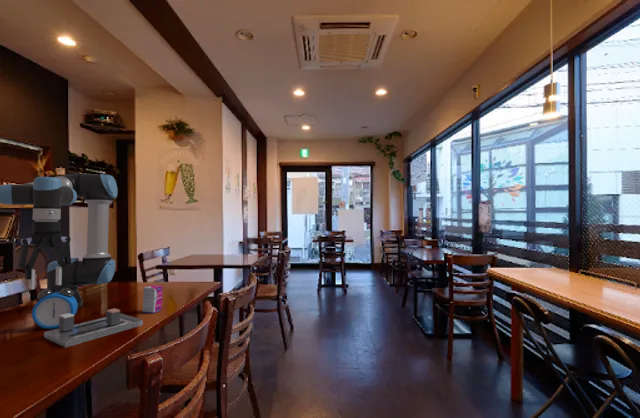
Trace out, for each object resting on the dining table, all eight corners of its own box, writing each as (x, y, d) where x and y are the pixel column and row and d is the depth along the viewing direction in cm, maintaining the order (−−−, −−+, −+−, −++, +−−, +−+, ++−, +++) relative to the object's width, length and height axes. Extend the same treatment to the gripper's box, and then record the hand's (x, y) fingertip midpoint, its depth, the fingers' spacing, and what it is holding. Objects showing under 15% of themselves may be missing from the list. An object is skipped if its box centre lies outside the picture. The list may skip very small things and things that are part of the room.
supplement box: (153, 313, 144) (154, 288, 144) (142, 313, 145) (142, 287, 145) (162, 310, 150) (162, 285, 150) (151, 309, 151) (151, 284, 151)
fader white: (59, 329, 117) (59, 315, 117) (68, 326, 120) (69, 313, 120) (64, 331, 115) (64, 316, 115) (73, 328, 118) (74, 314, 118)
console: (44, 337, 115) (44, 331, 115) (120, 318, 138) (120, 312, 138) (65, 347, 106) (65, 340, 107) (142, 325, 129) (142, 319, 129)
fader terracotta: (106, 323, 123) (106, 310, 123) (114, 321, 126) (114, 308, 126) (111, 325, 121) (111, 311, 121) (119, 323, 124) (120, 309, 124)
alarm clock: (30, 331, 121) (31, 291, 121) (37, 326, 127) (38, 288, 127) (73, 326, 127) (74, 288, 127) (77, 322, 132) (78, 285, 133)
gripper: (13, 221, 102) (11, 293, 102) (84, 220, 119) (82, 282, 119) (5, 221, 106) (3, 291, 106) (74, 220, 123) (73, 280, 123)
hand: (45, 286), depth 112 cm, fingers open, 7 cm apart
